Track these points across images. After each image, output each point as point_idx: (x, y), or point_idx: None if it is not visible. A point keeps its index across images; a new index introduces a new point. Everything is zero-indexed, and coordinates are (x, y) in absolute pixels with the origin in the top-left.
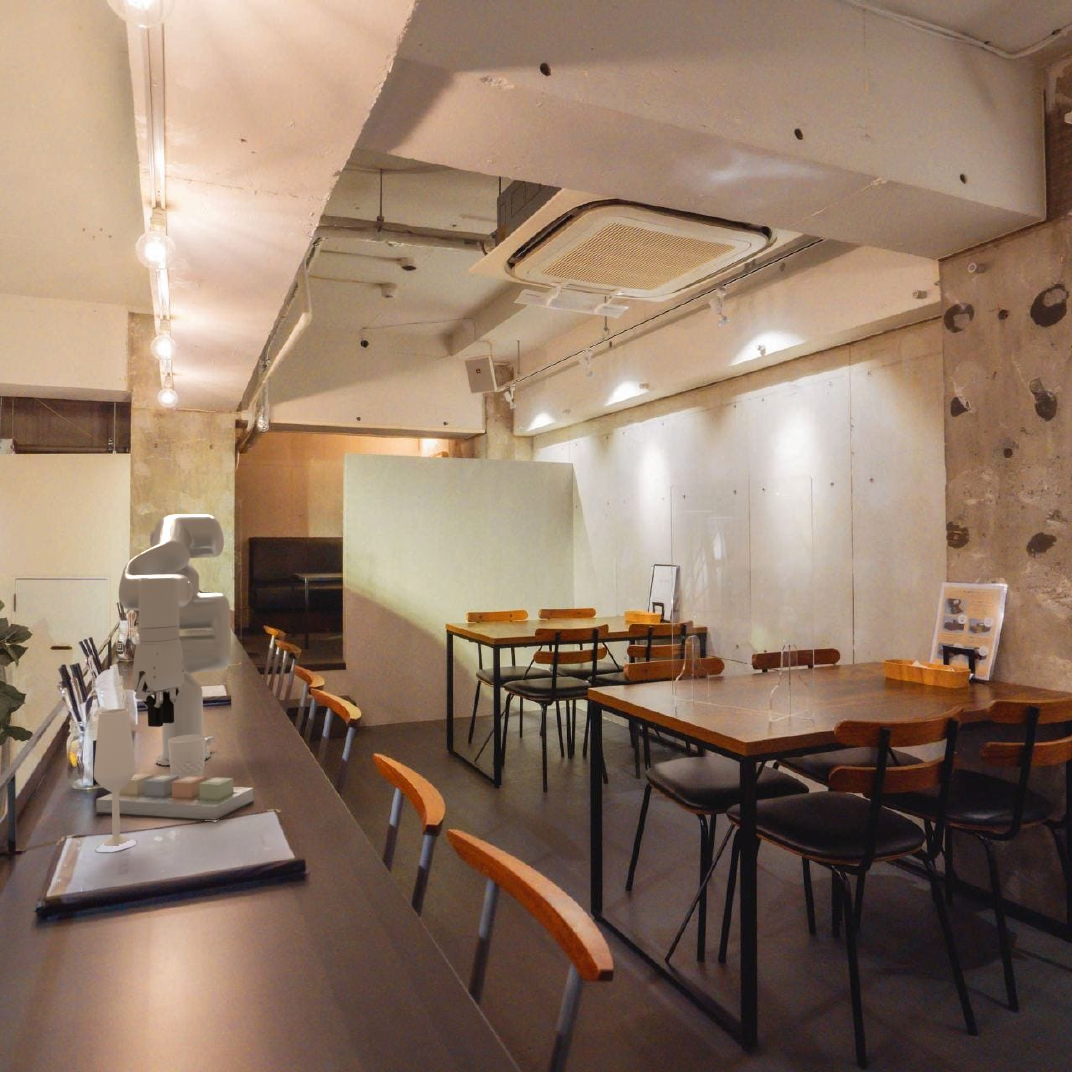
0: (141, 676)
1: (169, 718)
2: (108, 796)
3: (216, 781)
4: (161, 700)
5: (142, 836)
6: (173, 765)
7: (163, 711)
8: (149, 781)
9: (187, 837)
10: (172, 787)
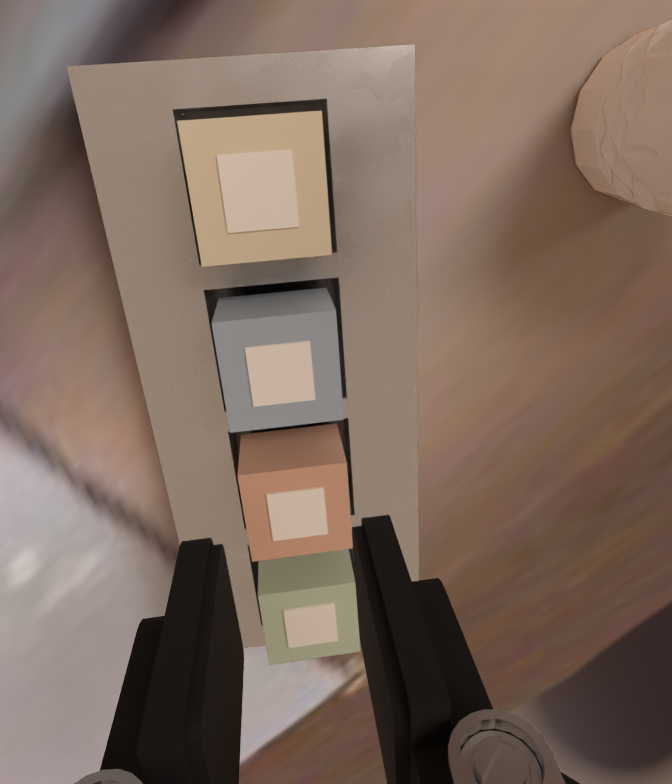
0: None
1: (366, 656)
2: (133, 98)
3: (299, 635)
4: (448, 776)
5: (7, 509)
6: (631, 97)
7: (377, 667)
8: (216, 350)
9: (74, 630)
10: (239, 464)
